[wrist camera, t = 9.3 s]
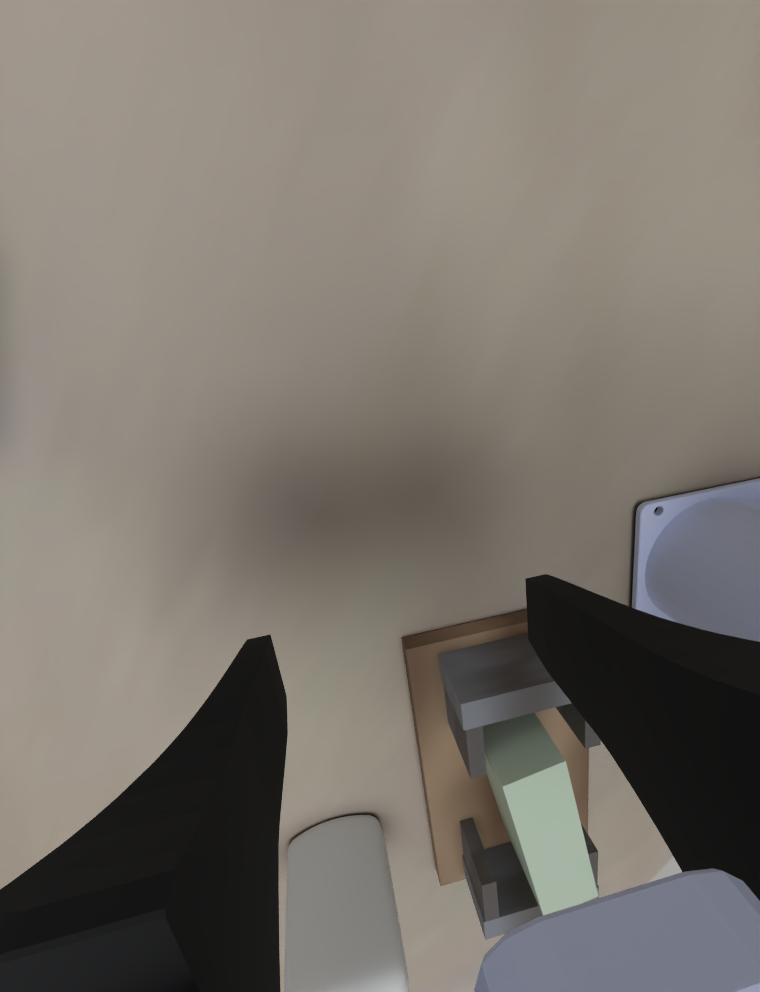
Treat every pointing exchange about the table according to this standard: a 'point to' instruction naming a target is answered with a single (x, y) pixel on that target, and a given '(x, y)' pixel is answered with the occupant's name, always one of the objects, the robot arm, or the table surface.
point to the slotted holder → (461, 754)
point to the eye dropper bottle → (342, 911)
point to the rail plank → (539, 811)
